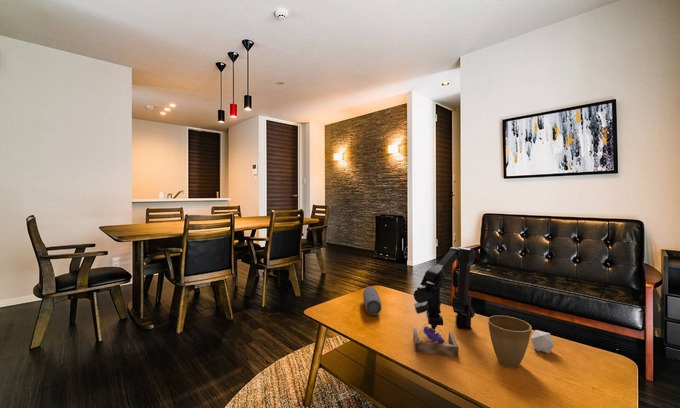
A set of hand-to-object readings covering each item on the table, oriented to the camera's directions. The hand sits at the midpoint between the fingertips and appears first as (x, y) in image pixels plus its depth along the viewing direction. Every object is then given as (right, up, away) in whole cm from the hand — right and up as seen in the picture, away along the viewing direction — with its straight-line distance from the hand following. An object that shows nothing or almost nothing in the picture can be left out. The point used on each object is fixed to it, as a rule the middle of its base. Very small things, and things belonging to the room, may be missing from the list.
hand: (433, 330), depth 136 cm
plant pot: (+23, -4, -20) cm, 31 cm away
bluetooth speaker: (-25, -2, +32) cm, 41 cm away
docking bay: (-2, -3, -7) cm, 8 cm away
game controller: (-3, -4, -7) cm, 8 cm away
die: (+43, -4, -10) cm, 45 cm away
